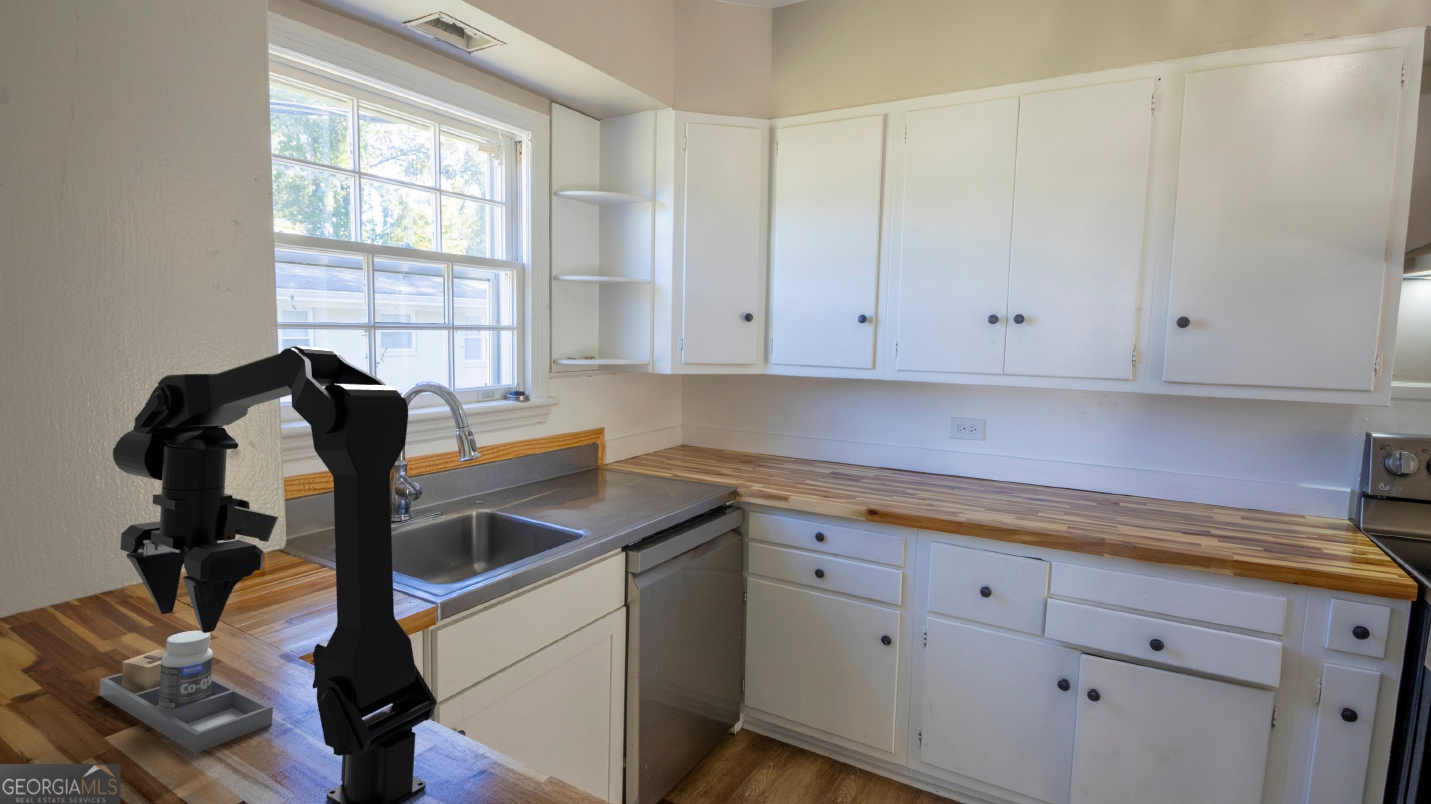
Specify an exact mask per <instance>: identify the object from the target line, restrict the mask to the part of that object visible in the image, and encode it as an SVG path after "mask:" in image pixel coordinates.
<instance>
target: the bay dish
mask: <svg viewBox="0 0 1431 804" xmlns="http://www.w3.org/2000/svg"><path fill="white" fill-rule="evenodd" d="M159 688H160V686H159V687H156V688H152V689H149V690H146V691H142V692H139V693H136V694H133V693H132V692H130V691H128V690H126V689H125V688H123V687H122V672H120V673H117V674H114V675H110V676H106V677H103V678H100V681H99V696H100V697H101V698H103V699H105V700H106V701H108V702H110V703H112V704H113V705H114V706H116V707H118V708H119V709H121V710H122V711H125V712H126V713H128V714H130V715H131V716H132V717H134V718H136V719H138V720H139V721H141V722H142V723H144V724H145V725H147V726H149V727H151V728H152V729H154V730H155V731H157V732H158V733H160V734H162V735H163V736H165V737H167V738H168V739H170V740H172V741H174V742H176V743H177V744H178V745H180V746H182V747H184V748H185V749H187V750H188V751H190V752H192V753H193V754H194V755H196V754H199V753H201V752H204V751H206V750H210V749H211V748H215V747H216V746H219V745H222V744H224V743H227V742H230V741H232V740H234V739H237V738H240V737H242V736H244V735H248V734H250V733H252V732H256V731H257V730H260V729H263V728H265V727H268V726H270V725H273V716H274V715H273V713H274V712H273V711H274V706H273V705H270V704H268V703H266V702H264V701H262V700H260V699H258V698H256V697H254V696H252V695H250V694H248V693H246V692H245V691H244V692H243V691H242V690H240V689H238V688H236V687H235V686H231V685H230V684H228V683H225V682H224V681H221V680H220V679H218V678H216V677H213V676H212V681H211V697H209V698H206V699H203V700H200V701H197V702H194V703H191V704H188V705H185V706H182V707H179V708H175V709H172V710H169V711H166V712H165V711H163V710H161V709H159V708H158V705H159Z"/></svg>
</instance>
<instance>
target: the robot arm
mask: <svg viewBox="0 0 1431 804" xmlns="http://www.w3.org/2000/svg"><path fill="white" fill-rule="evenodd" d="M287 396H291V407H292V408H293V410H294V411H296V413H298V415H299V416H300V417H302V418H303V419H304V420H305V422H307V424H309V426H310V429H311V436H312V443H313V448H314V449H313V450H314V451H315V452H316V454H317V456H318V457H319V458H320V460H321V462H322V463H323V464H324V465H325V467H326V468H327V470H328V471H329V472H330V474H331V475H332V479H333V480H332V481H333V504H334V505H333V507H334V508H333V510H334V511H333V512H334V545H335V546H334V550H335V551H334V553H335V554H334V555H335V579H336V580H335V583H336V584H335V585H336V586H335V587H336V588H335V589H336V619H337V621H336V627H335V629H334V631H333V633H332V634H331V637H330V638H329V639H327V640H324V641H322V642H319V643H317V644H315V646H314V649H313V653H312V657H313V664H314V665H313V666H314V678H313V683H312V689H316V703H317V709H318V712H319V713H318V714H319V718H320V723H321V729H322V734H323V735H322V736H323V740H324V743H325V745H326V746H328V747H330V748H332V750H333V755H336V756H339V757H340V756H341V758H342V760H341V777H340V781H341V784H340V785H338V786H335V787H333V788H332V789H329V790H328V791H327V792H326V796H325V797H326V800H328V801H329V802H331V803H333V804H401V803H403V802H405V801H407V800H409V799H410V798H411V797H413V796H415V795H417V794H419V793H420V792H422V791H424V790H426V781H424V780H422V779H421V778H419V777H416V776H414V767H415V766H414V765H415V750H416V732H415V731H413V728H414V727H416V726H418V725H420V724H422V723H423V722H427V721H429V720H430V719H431V718H432V717H433V715H434V712H435V709H436V707H437V706H436V705H437V699H436V698H435V696H434V694H433V693H432V691H431V689H430V688H429V686H428V684H427V682H426V680H425V679H424V677H423V676H422V674H421V672H420V670H419V669H418V667H417V665H416V663H415V657H414V650H413V645H412V640H411V638H410V636H409V635H408V633H407V632H406V631H405V629H404V628H403V626H402V625H401V624H400V623H399V621H398V620H397V619H396V617H395V608H394V607H395V605H394V604H395V603H394V602H395V601H394V573H393V571H394V570H393V569H394V567H393V564H394V563H393V537H392V536H393V535H392V534H393V533H392V502H391V501H392V500H391V499H392V498H391V496H392V494H391V474H392V473H391V472H392V470H393V469H394V467H395V465H396V463H397V461H398V459H399V457H400V455H401V453H402V452H403V450H404V448H405V446H406V442H407V431H408V423H409V407H408V403H407V400H406V398H405V396H402V395H401V393H400V392H399V391H398V390H397V389H396V388H394V387H393V386H391V385H390V386H389V385H387V384H386V383H385V382H384V381H382V380H381V379H380V378H378V377H376V376H375V375H373V374H371V373H368V372H367V371H366V370H363V369H361V368H359V367H357V366H355V365H353V364H351V363H350V362H349V361H347V360H346V359H345V357H343V356H342V355H340V354H339V353H338V352H336V351H334V350H332V349H330V348H323V347H322V348H321V347H311V346H310V347H309V346H300V345H295V346H290V347H289V348H288V347H286V348H284V349H283V350H281V352H279V353H276V354H273V355H269V356H267V357H263V358H259V359H257V360H254V361H251V362H248V363H244V364H242V365H239V366H236V367H233V368H230V369H229V368H228V369H226V370H223V371H220V372H217V373H183V374H181V373H180V374H167V375H165V376H164V377H162V378H161V379H160V380H159V381H158V383H157V386H155V387H154V389H153V390H152V392H151V394H150V395H149V398H148V399H147V402H146V403H145V404H144V406H143V408H142V409H141V410H140V412H139V413H138V414H137V415H136V416H135V418H134V426H133V429H131V430H130V431H127V432H126V433H124V434H122V436H121V437H120V438H118V439H119V440H118V441H117V442H116V444H115V446H114V447H113V449H112V459H113V461H114V463H115V465H116V466H117V468H118V469H119V470H121V471H122V472H124V473H125V474H128V475H131V476H137V477H143V478H147V479H151V480H157V481H161V491H160V492H161V493H157V494H152V504H153V505H156V506H159V507H160V514H159V515H160V516H159V520H158V521H153V522H152V521H151V522H145V523H136V524H135V523H134V524H131V525H129V526H128V527H127V528H126V529H125V530H124V531H123V532H122V533H120V550H121V551H124V552H127V553H126V555H125V556H126V559H128V560H129V561H130V563H131V565H132V566H133V568H134V569H135V572H136V573H137V574H138V576H139V577H140V579H141V581H142V583H143V585H144V586H145V588H146V590H147V592H148V593H149V595H150V597H151V599H152V600H153V603H154V604H155V606H156V608H157V609H158V612H159V613H160V614H161V615H167V614H171V613H173V611H174V609H175V608H174V607H175V605H176V600H177V595H178V590H179V584H180V580H181V573H182V569H183V568H184V571H185V573H186V576H182V580H183V582H184V585H185V588H186V591H187V594H188V597H189V601H190V602H191V605H192V609H193V611H194V614H195V618H196V620H197V624H198V625H199V628H200V631H202V632H203V633H208V632H209V633H211V632H214V631H215V630H216V628H217V625H218V624H219V622H220V621H219V620H220V619H221V616H222V614H223V612H224V609H225V607H226V605H227V602H228V600H229V598H230V596H231V594H232V592H233V591H234V589H235V587H236V585H237V584H239V583H240V582H241V581H242V580H244V578H247V577H251V576H252V575H254V573H256V571H261V570H262V569H263V567H264V551H263V550H262V549H261V548H259V547H258V546H257V545H256V544H253V543H251V542H247V541H243V540H241V539H236V535H238V536H242V537H247V538H253V539H258V540H259V541H260V542H265V543H268V542H269V540H270V538H271V536H272V534H273V531H274V529H275V527H276V524H277V521H278V519H279V516H276V515H272V514H269V513H265V512H262V511H257V510H255V509H254V510H253V509H250V501H249V500H245V499H241V498H237V497H234V496H233V494H230V493H229V494H228V493H225V492H226V475H227V474H226V471H227V455H228V450H237V449H238V448H239V443H238V441H237V440H236V439H235V438H234V437H233V436H231V435H230V434H229V433H228V431H227V429H226V427H225V426H229V425H232V424H234V423H235V422H236V421H239V420H241V419H242V418H244V417H246V416H247V415H248V413H249V409H250V408H252V407H253V406H257V405H260V404H263V403H266V402H270V401H273V400H274V401H275V400H277V399H281V398H285V397H287ZM219 541H220V542H219ZM221 541H222V542H221ZM371 714H372V715H371ZM363 718H364V719H363Z"/></svg>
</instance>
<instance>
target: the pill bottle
mask: <svg viewBox="0 0 1431 804" xmlns="http://www.w3.org/2000/svg"><path fill="white" fill-rule="evenodd" d="M165 642H166V643H165V644H166V645H165V651H166V653H167V654H166V655H165V656H164V657H163V658H162V660H161V671H160V688H159V705H158V708H159V709H161V710H163V711H165V712H166V711H169V710H172V709H175V708H179V707H182V706H185V705H188V704H191V703H194V702H197V701H200V700H203V699H206V698H209V697H211V681H212V677H213V676H212V675H213V663H214V652H213V650H212V649H211V648H209V647H210V646H211V632H208V633H203V632H202V631H201V630H190V631H189V630H188V631H184V632H183V631H182V632H178V633H175V634H173V635H170V636H168V637H167V638H166V641H165Z"/></svg>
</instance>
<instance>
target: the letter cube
mask: <svg viewBox="0 0 1431 804" xmlns="http://www.w3.org/2000/svg"><path fill="white" fill-rule="evenodd" d="M166 654H167V653H166V650H162V649H155V650H152V651H150V652H147V653H144V654H141V655H138V656H135V657H131V658H129V659H127V660H123V661H122V672H121V673H122V687H123V688H125V689H126V690H128V691H130V692H132V693H133V694H136V693H139V692H142V691H146V690H149V689H152V688H156V687H159V686H160V671H161V660H162V658H163V657H164V656H165V655H166Z"/></svg>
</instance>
